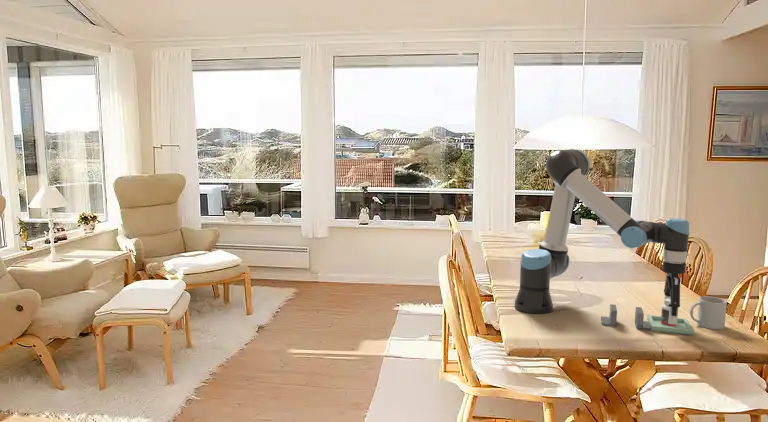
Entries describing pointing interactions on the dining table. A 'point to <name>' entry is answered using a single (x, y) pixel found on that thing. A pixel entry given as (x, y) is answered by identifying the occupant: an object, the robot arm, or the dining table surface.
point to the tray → (681, 328)
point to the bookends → (638, 318)
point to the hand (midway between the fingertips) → (669, 318)
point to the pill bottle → (666, 314)
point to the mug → (710, 312)
